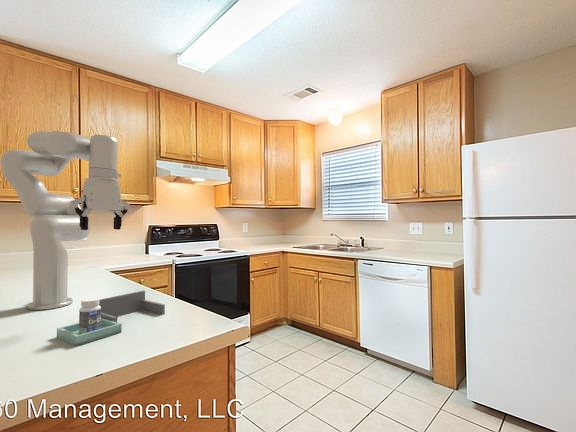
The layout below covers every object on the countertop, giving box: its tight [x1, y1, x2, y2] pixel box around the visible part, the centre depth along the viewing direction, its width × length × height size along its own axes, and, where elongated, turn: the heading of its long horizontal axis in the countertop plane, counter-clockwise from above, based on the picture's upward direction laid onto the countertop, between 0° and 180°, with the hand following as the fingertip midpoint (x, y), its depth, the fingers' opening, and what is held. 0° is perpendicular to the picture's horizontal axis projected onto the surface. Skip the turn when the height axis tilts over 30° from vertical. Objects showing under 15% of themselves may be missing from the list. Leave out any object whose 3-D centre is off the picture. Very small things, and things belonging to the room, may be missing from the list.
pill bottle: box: [78, 297, 101, 334], centre depth 79 cm, size 5×5×8 cm
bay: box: [99, 290, 166, 323], centre depth 93 cm, size 12×16×6 cm
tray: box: [56, 317, 123, 347], centre depth 79 cm, size 11×11×2 cm
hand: (101, 229), depth 96 cm, fingers open, 9 cm apart
